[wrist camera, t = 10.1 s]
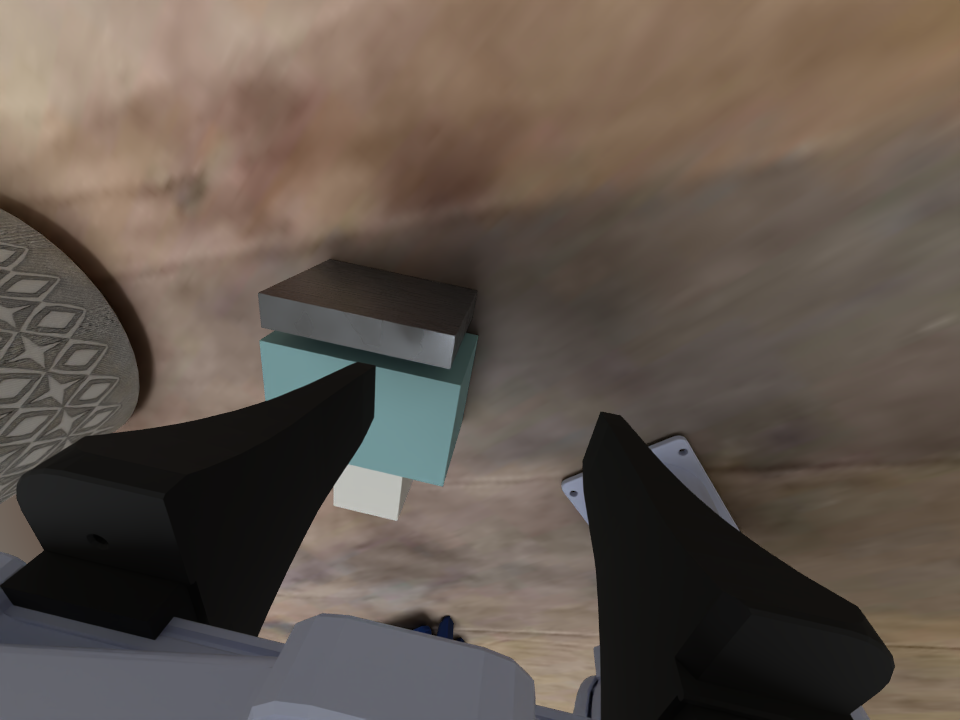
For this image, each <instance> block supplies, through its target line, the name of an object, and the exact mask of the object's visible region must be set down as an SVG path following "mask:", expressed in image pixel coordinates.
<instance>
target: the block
mask: <svg viewBox="0 0 960 720" xmlns="http://www.w3.org/2000/svg"><path fill="white" fill-rule="evenodd" d="M477 341H478V335H473V334H469V333H466V334H465V336H464V338H463V341H462V343H461V345H460V348H459V350H458V352H457V355H456V357H455V359H454V362H453V364H452V366H451V368H450V369H446V368H442V367H437V366H433V365H428V364H424V363H419V362H415V361H410V360H406V359H401V358H397V357H392V356H388V355H383V354H379V353H374V352H370V351H365V350H361V349H356V348H352V347H347V346H343V345H338V344H334V343H329V342H325V341H320V340H316V339H311V338H307V337H302V336H298V335H293V334H289V333H284V332H280V331H274V332H272V333H270V334H269V335H267V336H266V337H264V338H263V339H261V340H260V350H261V360H262V370H263V379H264V389H265V399H266V401H267V400H270V399H273V398H276V397H278V396H281V395H283V394H285V393H288V392H290V391H293V390H295V389H298V388H300V387H303V386H305V385H307V384H310V383H312V382H314V381H316V380H318V379H320V378H323V377H325V376H327V375H329V374H331V373H333V372H335V371H338V370H340V369H342V368H344V367H346V366H348V365H351V364H353V363H356V362H361V363H366V364H371V365H376V380H375V411H374V419H373V421H372V423H371V426H370V428H369V430H368V432H367V434H366V436H365V438H364V440H363V442H362V444H361V445H360V447H359V449H358V450H357V452H356V453H355V455H354V456H353V458H352V459H351V461H350V462H349V465H353V466H358V467H362V468H366V469H370V470H375V471H379V472H383V473H387V474H392V475H396V476H400V477H404V478H409V479H413V480H417V481H421V482H426V483H430V484H434V485H438V486H443V484H444V481H445V478H446V474H447V471H448V468H449V464H450V461H451V458H452V454H453V451H454V448H455V444H456V441H457V438H458V434H459V431H460V427H461V424H462V420H463V415H464V409H465V404H466V399H467V393H468V388H469V383H470V378H471V372H472V367H473V362H474V357H475V351H476V346H477Z"/></svg>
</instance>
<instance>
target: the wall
mask: <svg viewBox="0 0 960 720" xmlns="http://www.w3.org/2000/svg"><path fill="white" fill-rule="evenodd" d="M476 296H477V290H472V289H467V288H463V287H458V286H453V285H449V284H444V283H439V282H435V281H430V280H425V279H421V278H416V277H411V276H407V275H402V274H397V273H393V272H388V271H383V270H379V269H374V268H369V267H364V266H360V265H355V264H350V263H346V262H341V261H336V260H332V259H329V260H327V261H325V262H323V263H321V264H319V265H316V266H314V267H312V268H310V269H308V270H306V271H304V272H302V273H299V274H297V275H295V276H293V277H291V278H289V279H287V280H285V281H282V282H280V283H278V284H276V285H274V286H272V287H270V288H268V289H265V290H263V291H261V292H259V293H258V298H259V308H260V318H261V327H262V328H266V329H271V330H275V331H280V332H284V333H289V334H293V335H298V336H302V337H307V338H311V339H316V340H320V341H325V342H329V343H334V344H338V345H343V346H347V347H352V348H356V349H361V350H365V351H370V352H374V353H379V354H383V355H388V356H392V357H397V358H401V359H406V360H410V361H415V362H419V363H424V364H428V365H433V366H437V367H442V368H446V369H450V368H451V366H452V364H453V362H454V359H455V357H456V355H457V352H458V350H459V348H460V345H461V343H462V341H463V338H464V336H465V334H466V331H467V329H468V327H469V325H470V322H471V320H472V318H473V313H474V307H475V301H476Z"/></svg>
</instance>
